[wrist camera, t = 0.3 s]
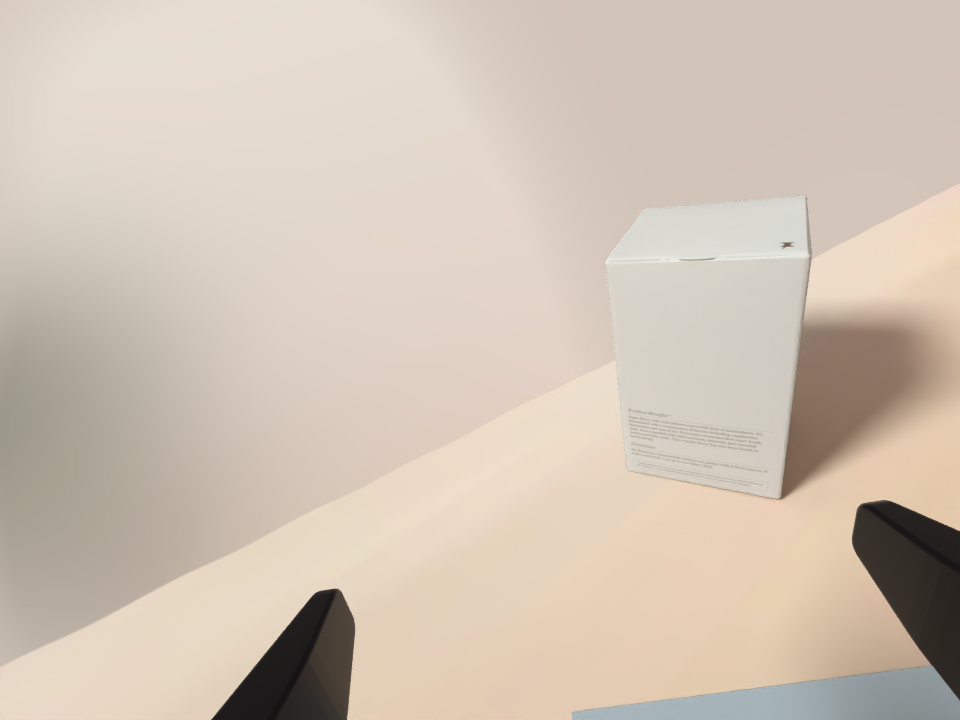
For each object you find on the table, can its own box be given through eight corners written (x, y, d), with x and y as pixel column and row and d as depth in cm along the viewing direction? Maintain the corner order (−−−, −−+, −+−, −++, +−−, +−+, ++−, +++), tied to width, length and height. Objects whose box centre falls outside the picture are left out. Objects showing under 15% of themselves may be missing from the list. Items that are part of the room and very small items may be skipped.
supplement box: (786, 408, 33) (815, 190, 26) (782, 504, 27) (819, 253, 20) (651, 392, 38) (642, 204, 30) (621, 471, 32) (601, 258, 24)
